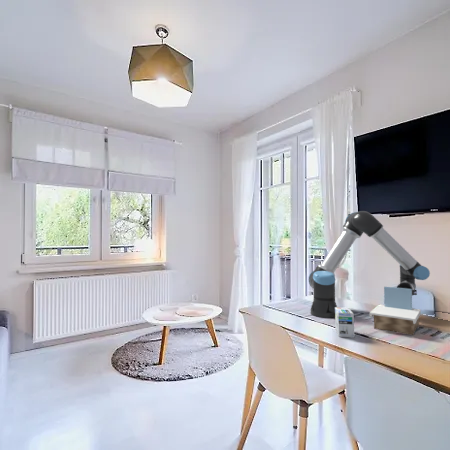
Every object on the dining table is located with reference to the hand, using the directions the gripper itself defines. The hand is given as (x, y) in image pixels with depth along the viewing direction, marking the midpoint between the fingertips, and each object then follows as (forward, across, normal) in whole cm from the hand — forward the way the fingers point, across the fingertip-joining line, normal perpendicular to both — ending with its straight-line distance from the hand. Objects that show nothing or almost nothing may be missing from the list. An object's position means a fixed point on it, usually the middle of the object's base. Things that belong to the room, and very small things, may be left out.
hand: (398, 296), depth 154 cm
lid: (+8, 0, +8) cm, 11 cm away
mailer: (+5, 0, +14) cm, 15 cm away
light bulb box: (+31, -17, +14) cm, 38 cm away
